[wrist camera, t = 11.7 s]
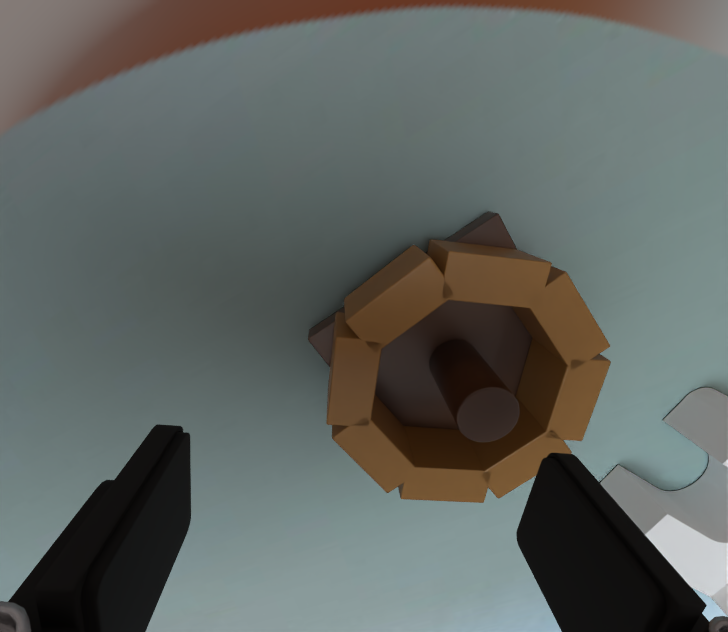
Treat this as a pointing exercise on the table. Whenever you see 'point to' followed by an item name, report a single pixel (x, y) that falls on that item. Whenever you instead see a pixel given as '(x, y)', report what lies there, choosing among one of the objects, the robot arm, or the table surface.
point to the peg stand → (453, 358)
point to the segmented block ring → (536, 388)
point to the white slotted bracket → (688, 499)
